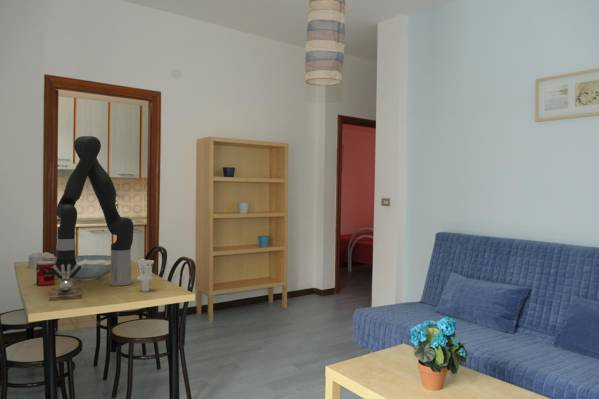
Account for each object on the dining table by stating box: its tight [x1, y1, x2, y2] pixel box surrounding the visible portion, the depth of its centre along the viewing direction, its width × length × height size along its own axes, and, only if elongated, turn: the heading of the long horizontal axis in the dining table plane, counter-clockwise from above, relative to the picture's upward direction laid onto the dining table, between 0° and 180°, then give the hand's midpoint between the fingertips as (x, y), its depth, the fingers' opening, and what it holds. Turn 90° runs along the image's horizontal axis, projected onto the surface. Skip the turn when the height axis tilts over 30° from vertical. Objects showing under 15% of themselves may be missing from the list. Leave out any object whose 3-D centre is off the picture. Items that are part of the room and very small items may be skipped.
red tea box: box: [42, 255, 58, 280], centre depth 236 cm, size 6×8×12 cm
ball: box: [59, 280, 73, 291], centre depth 203 cm, size 5×5×5 cm
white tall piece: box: [137, 258, 155, 293], centre depth 214 cm, size 7×7×15 cm
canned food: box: [36, 261, 56, 287], centre depth 224 cm, size 8×8×11 cm
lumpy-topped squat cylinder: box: [28, 251, 55, 270], centre depth 274 cm, size 10×13×9 cm
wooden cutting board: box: [48, 285, 82, 302], centre depth 203 cm, size 12×20×2 cm, turn 26°
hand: (65, 287), depth 206 cm, fingers closed
